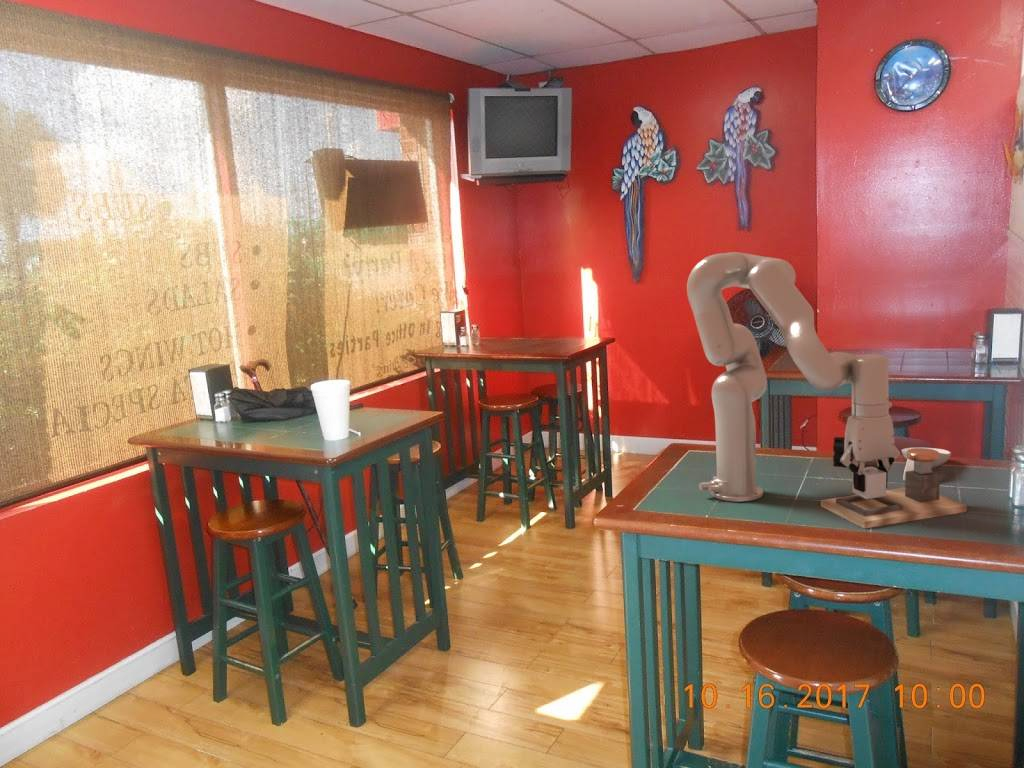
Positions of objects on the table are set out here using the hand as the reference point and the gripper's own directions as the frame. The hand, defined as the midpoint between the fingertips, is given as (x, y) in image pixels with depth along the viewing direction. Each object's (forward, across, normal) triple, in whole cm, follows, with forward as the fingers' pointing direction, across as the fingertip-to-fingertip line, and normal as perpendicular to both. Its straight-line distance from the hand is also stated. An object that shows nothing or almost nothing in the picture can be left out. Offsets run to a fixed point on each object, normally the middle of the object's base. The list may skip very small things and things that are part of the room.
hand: (870, 487), depth 184 cm
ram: (+1, -14, 0) cm, 14 cm away
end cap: (+6, -20, -36) cm, 42 cm away
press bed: (+6, -5, 0) cm, 8 cm away
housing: (+2, 0, 0) cm, 2 cm away
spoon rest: (+7, -32, -22) cm, 39 cm away
